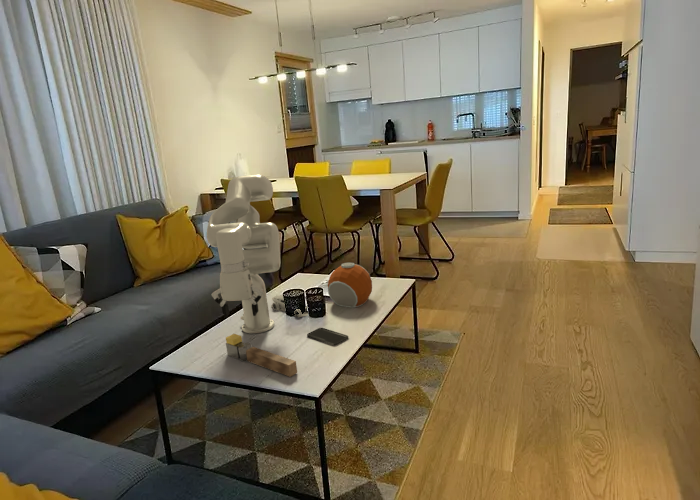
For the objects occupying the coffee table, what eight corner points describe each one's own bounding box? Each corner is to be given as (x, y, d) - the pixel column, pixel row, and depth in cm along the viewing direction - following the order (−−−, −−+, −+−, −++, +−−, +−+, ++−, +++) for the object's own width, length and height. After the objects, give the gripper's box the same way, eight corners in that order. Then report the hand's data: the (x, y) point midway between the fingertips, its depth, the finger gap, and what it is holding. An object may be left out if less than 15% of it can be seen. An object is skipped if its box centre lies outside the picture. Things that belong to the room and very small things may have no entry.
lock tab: (226, 342, 163) (225, 337, 163) (234, 338, 166) (234, 333, 165) (233, 345, 161) (232, 340, 160) (242, 341, 163) (241, 335, 163)
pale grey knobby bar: (299, 319, 192) (298, 308, 190) (265, 307, 209) (264, 296, 208) (320, 310, 199) (319, 299, 198) (286, 299, 216) (284, 289, 215)
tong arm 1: (247, 361, 158) (245, 350, 157) (251, 359, 159) (249, 348, 158) (290, 376, 146) (288, 365, 145) (293, 374, 147) (292, 363, 146)
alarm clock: (380, 297, 207) (377, 259, 202) (360, 312, 192) (357, 271, 188) (343, 293, 217) (340, 256, 212) (321, 306, 202) (317, 268, 198)
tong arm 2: (251, 359, 160) (249, 348, 159) (254, 357, 161) (253, 346, 160) (293, 374, 147) (292, 363, 146) (297, 372, 148) (295, 361, 147)
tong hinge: (226, 355, 164) (224, 343, 163) (236, 350, 168) (234, 338, 167) (245, 362, 158) (243, 350, 157) (255, 357, 161) (253, 344, 160)
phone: (320, 327, 179) (349, 336, 169) (321, 329, 180) (349, 339, 170) (305, 334, 174) (334, 344, 164) (305, 337, 174) (334, 347, 164)
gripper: (262, 261, 156) (269, 309, 161) (211, 264, 157) (219, 311, 162) (256, 268, 149) (264, 318, 153) (203, 272, 150) (212, 321, 155)
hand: (241, 315), depth 158 cm, fingers open, 9 cm apart
